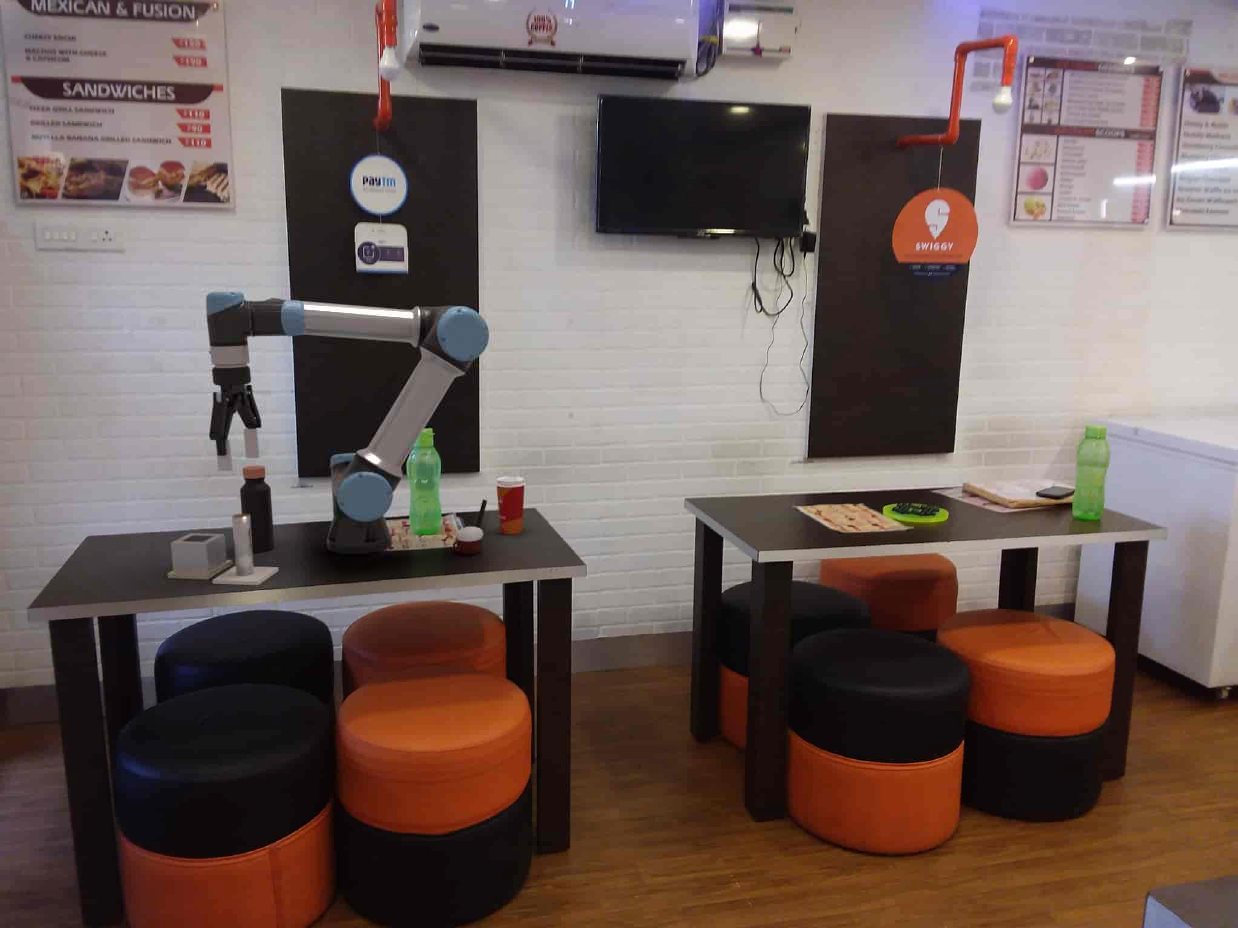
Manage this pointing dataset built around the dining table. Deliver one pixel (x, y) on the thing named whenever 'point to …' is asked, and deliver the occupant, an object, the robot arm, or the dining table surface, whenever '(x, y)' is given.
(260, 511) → the bottle
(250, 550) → the metal cylinder
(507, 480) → the paper cup
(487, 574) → the dining table surface
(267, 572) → the pad
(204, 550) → the grey box
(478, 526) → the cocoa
